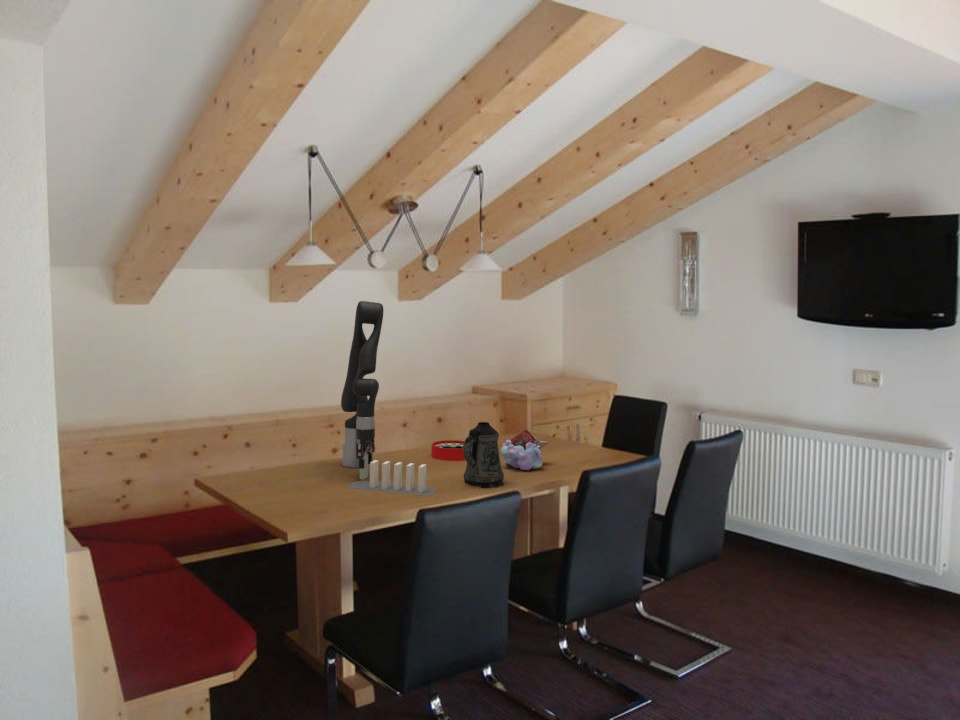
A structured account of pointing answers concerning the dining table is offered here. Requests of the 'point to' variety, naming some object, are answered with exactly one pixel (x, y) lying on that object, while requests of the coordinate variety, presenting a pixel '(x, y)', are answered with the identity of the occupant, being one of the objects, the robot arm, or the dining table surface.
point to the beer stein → (482, 457)
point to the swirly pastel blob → (523, 451)
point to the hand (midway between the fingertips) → (365, 466)
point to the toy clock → (448, 450)
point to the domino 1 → (364, 469)
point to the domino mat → (390, 488)
